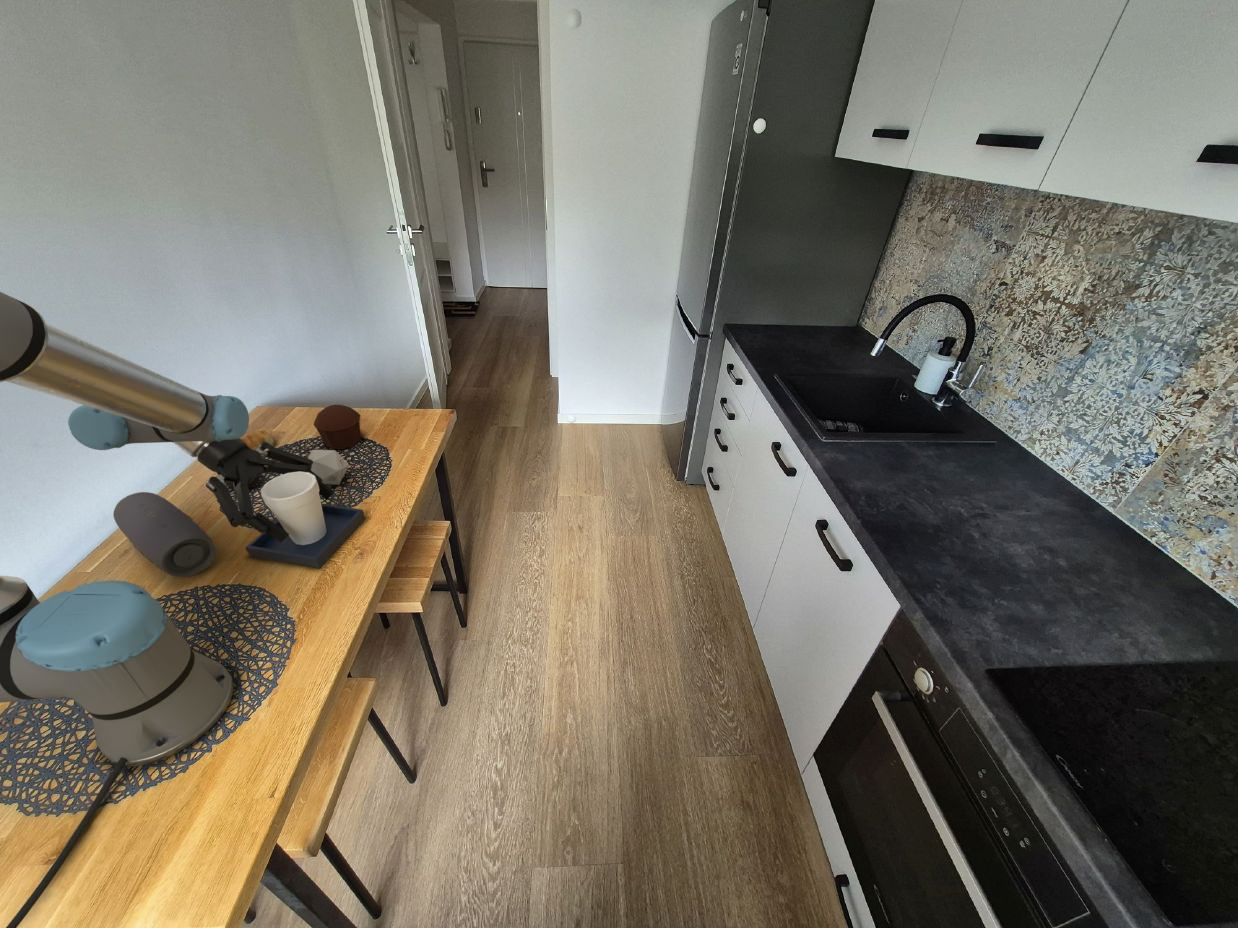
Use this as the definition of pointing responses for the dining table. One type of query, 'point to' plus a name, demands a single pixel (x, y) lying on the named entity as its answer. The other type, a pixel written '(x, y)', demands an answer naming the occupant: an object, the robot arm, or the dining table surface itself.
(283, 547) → the tray
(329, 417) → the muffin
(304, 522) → the foam cup
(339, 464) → the die
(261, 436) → the pastry
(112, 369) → the robot arm
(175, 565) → the bluetooth speaker
